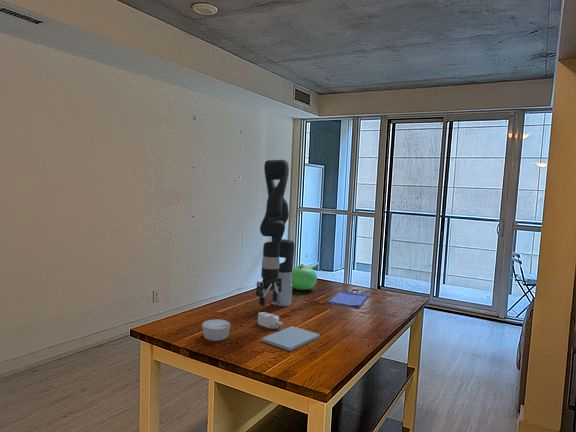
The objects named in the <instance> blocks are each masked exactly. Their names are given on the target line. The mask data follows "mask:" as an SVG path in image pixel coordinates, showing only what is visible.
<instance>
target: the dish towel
mask: <svg viewBox="0 0 576 432" xmlns="http://www.w3.org/2000/svg"><path fill="white" fill-rule="evenodd" d="M368 299H369V294H368V293H356V292H350V291H344V290H343V291H339V292H338V293H337V294H336V295H335V296H333V297H332V298H331V299H330V300H328V303H329V304H330V305H335V306H343V307H349V308H356V309H360V308H361V307H362V306H363V305H364V304H365V303H366V302H367V301H368Z"/></svg>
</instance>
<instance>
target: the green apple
mask: <svg viewBox="0 0 576 432" xmlns="http://www.w3.org/2000/svg"><path fill="white" fill-rule="evenodd" d="M316 267H317V265H316V264H313V265H310V266H306V265H301V264H300V265H296V266H294V265H293V268H292V289H295V290H297V291H298V290H299V291H306V290H311V289H312V288H314V287H315V286H316V284H317V282H318V276H317V273H316V271H315V270H314V269H315V268H316Z"/></svg>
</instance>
